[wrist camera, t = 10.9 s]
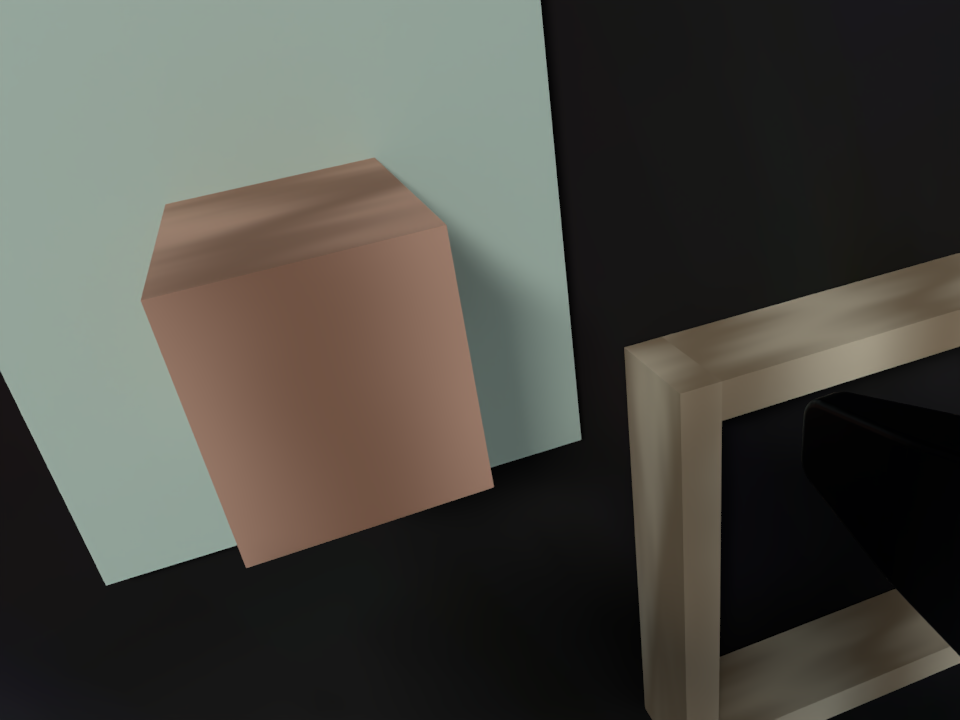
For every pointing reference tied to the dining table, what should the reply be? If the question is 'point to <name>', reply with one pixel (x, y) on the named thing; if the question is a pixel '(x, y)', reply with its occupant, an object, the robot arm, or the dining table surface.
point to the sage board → (242, 162)
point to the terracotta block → (318, 354)
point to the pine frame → (697, 499)
